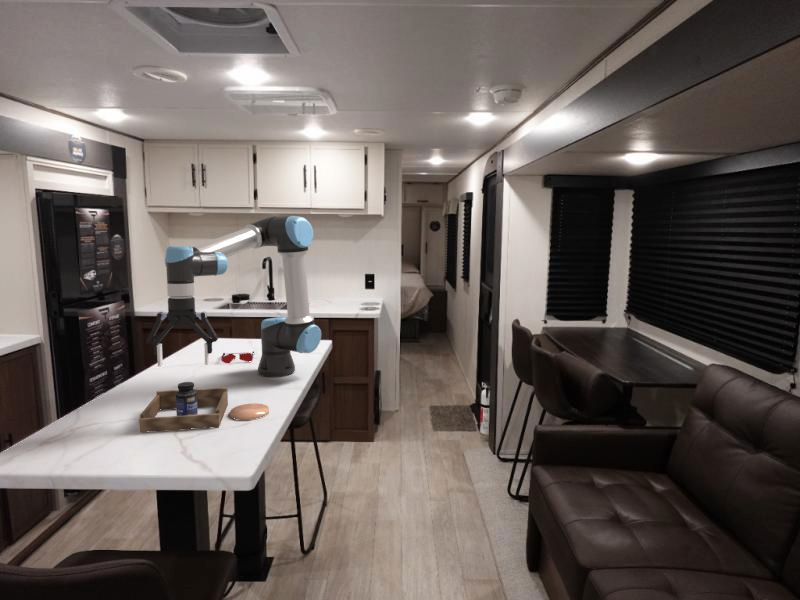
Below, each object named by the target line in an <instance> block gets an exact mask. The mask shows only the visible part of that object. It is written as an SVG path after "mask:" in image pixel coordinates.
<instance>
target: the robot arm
mask: <svg viewBox="0 0 800 600" xmlns="http://www.w3.org/2000/svg"><path fill="white" fill-rule="evenodd" d="M313 240H314V229H313V226H312V224H311V223H310V222H309V221H308V220H307V219H306V218H305V217H302V216H297V215H286V216H284V215H283V216H281V215H280V216H279V215H278V216H277V215H276V216H275V215H274V216H269V217H268V216H267V217H265V218H263V219H259V220H257V221H254V222H252V223H251V222H250V223H248V224H247V225H245V226H244V227H243V228H242V229H240V230H239V229H238V230H237V231H234V232H231V233H228V234H225V235H222V236H219V237H217V238H214V239H211V240H208V241H205V242H202V243H200V244H197V245H194V246H188V245H187V246H186V245H185V246H184V245H183V246H182V245H179V246H178V245H171V246H168V247H166V250H165V251H166V252H165V258H164V264H165V268H166V285H167V286H166V287H167V288H166V290H167V291H166V292H167V294H166V295H167V296H168V299H167V309H168V310H167V312H165V313H164V312H162V311H161V312H159V313H157V314H156V321H155V323H154V325H153V327H152V329H151V330H150V333H149V335H148V336H147V339H146V341H145V342H146V343H147V344H150V345H152V346H153V347H152V348H153V350H152V351H153V355H154V356H157V357H156V358H157V367H161V366H162V365H163V364H164V362H163V343H160V342H161V341H162V340H163V339H164V337H165V336H166V335H167V334H168V333H169V332H170V330H171V329H172V328H173V327H175V328H188V327H190V328H191V329H193V330H194V331H195V333H197V335H198V336H199V337H201V339H203V340H204V342H205V343H204V344H203V345H204V365H209V363H210V354H212V353H213V343H216V342H218V340H219V337H218V335H217V333H216V331H215V330H214V327H213V326H212V325H211V323H210V321H209V319H208V317H207V312H206V311H202V312H196V303H195V302H196V300H195V297H194V296H195V277H208V276H209V277H210V276H215V277H217V276H220V275H224V274H225V273H226V272H227V270H228V267H229V266H228V264H229V262H228V257H231V256H234V255H237V254H239V253H243V252H244V251H247V250H249V249H255V250H257V249H259V248H262V247H276V248H277V253H278V254H279V256H281V259H282V268H283V278H284V279H283V280H284V289H285V291H284V292H285V300H286V301H285V303H286V310H287V313H286V314H287V316H280V317H279V316H278V317H271V318H266V319H263V320H262V321H261V326H260V327H261V328H260V336H261V337H260V338H261V357H260V360H259V364H258V367H257V374H258V373H259V374H260V375H259V374H258V375H259V376H262V375H263V376H262V377H267V376H279V377H283V376H282V375H286V376H289V375H288V374H290V375H292V374H294V373H295V372H296V364H295V363H294V359H293V356H292V354H291V353H292V352H294V353H295V352H296V353H298V354H311V353H313V352H314V351H316V349H317V348H318V346H319V345H320V343H321V339H322V330H321V328H320V326H318V325H316V324H315V317H314V316H312V315H311V314H310V302H309V290H308V279H307V268H306V267H307V266H306V254H307V253H308V252H309V247H310V246H311V245H312V243H313ZM166 318H167V320H168V321H169V323H168V324H167V325H166V326H165V328H164V329H163V330H162V332H161V333H160V334H159V335H158V336H157V337H156V334H157V332H158V331H159V329H160V327H161V324H162V322H163V321H164V320H165V319H166ZM196 318H198V319H199V320H200V321H201V322H202V324H203V326H204V327H205V329H206V331H207V332H208V334H207V333H206V332H205V330H204V329H202V328H201V326H200V325H199V324H198V323H197V322H196ZM155 337H156V338H155ZM294 371H295V372H294ZM293 372H294V373H293ZM291 373H292V374H291Z"/></svg>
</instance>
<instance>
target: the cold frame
mask: <svg viewBox="0 0 800 600" xmlns="http://www.w3.org/2000/svg"><path fill="white" fill-rule="evenodd" d="M193 389H194V390H196V392H197V408H204V407H206V408H207V407H216V408H215V413H204V414H201V413H200V414H198V415H184V416H177V415H172V416H171V415H169V416H157V415H158V414H159V412H160V411H161V410H172V409H173V408H176V393H177V392H178V391H179V389H174V390H173V389H172V390H156V394H155V396H154V398H153V399H152V400H151V401H150V402H149V404H148V405H147V406H146V407H145V408H144V410H142V412H141V413H140V414H139V419H138V423H139V433H140V432H142V433H148V432H147V431H157V432H166V431H165V430H171V431H181V430H180V429H186V430H192V429H191V428H200V429H205V428H204V427H215V428H220V427H219V426H221V423H222V422H221V421H223V419H224V416H225V414H224V413H226V410H227V408H228V405H229V400H228V398H229V396H228V387H212V388H193ZM160 409H161V410H160ZM157 413H158V414H157Z"/></svg>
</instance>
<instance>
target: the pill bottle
mask: <svg viewBox="0 0 800 600" xmlns="http://www.w3.org/2000/svg"><path fill="white" fill-rule="evenodd" d="M194 389H195V382H192V381H184V382H180V383H178V384H177V390H179V391H178V392H177V393H176V416H184V415H199V414H198V407H197V392H196V390H194Z"/></svg>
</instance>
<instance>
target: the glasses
mask: <svg viewBox="0 0 800 600" xmlns="http://www.w3.org/2000/svg"><path fill="white" fill-rule="evenodd" d="M253 353H254V354H255V352H254V350H253V351H252V352H244V353H241V352H237V353H236V352H235V353H234V352H233V353H232V352H231V353H227V354H226V352H223V353H222V355H221V357H220V361H221V362H222V363H223V364H224V363H225V364H226V363H229V364H230V363H231V362H233V361H234V360H236V358H237V356H236V355H238V354H239V355H238V356H239V357H238V358H239V360H240V361H244V362H247V363H250V362H249V361H251V362H252V361H253V359H254V354H253ZM224 355H225V356H224Z"/></svg>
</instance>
